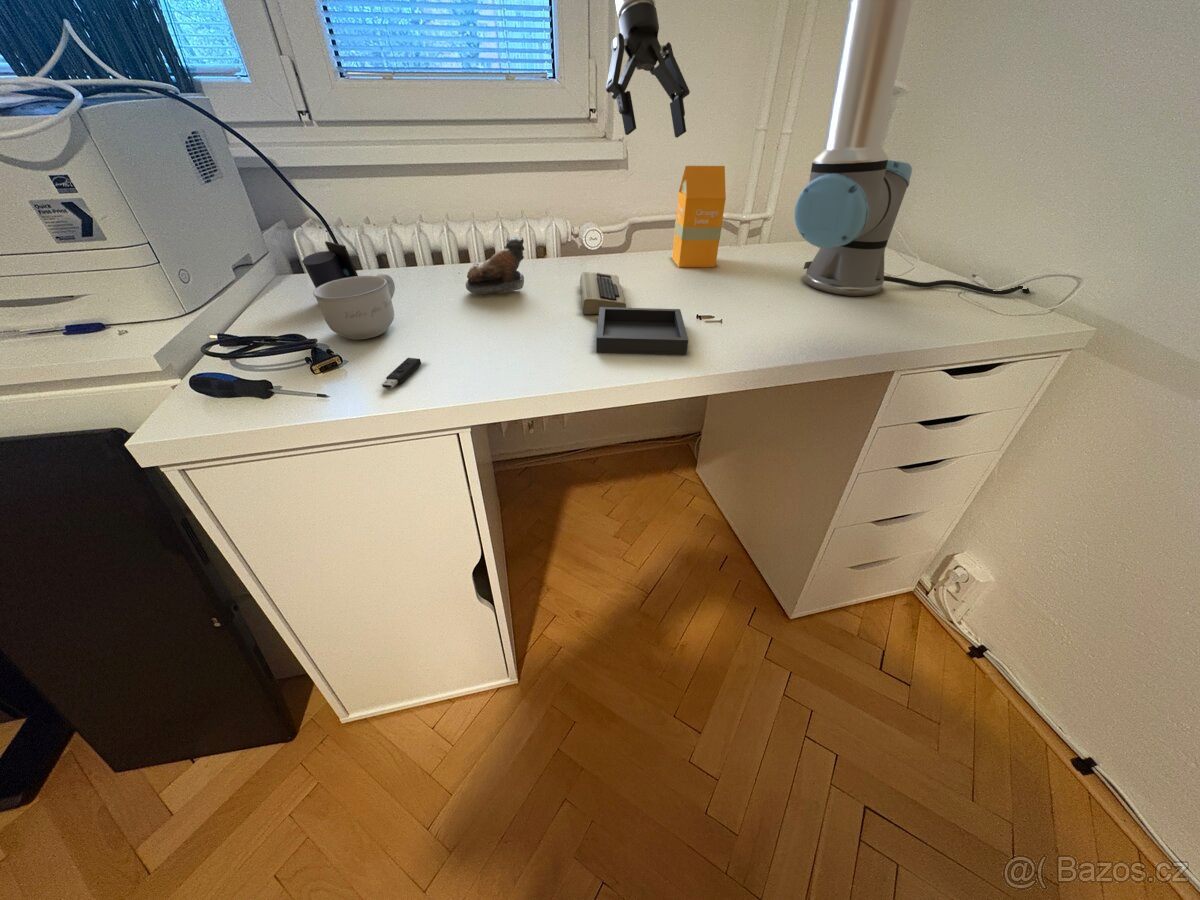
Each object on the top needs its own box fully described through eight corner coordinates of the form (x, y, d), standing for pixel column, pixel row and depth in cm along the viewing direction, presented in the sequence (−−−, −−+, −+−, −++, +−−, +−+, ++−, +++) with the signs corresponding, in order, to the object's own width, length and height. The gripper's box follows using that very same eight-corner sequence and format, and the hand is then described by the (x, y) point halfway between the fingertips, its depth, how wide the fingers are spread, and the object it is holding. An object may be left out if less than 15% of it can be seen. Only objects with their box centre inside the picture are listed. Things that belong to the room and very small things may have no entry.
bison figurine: (467, 300, 93) (458, 244, 86) (466, 288, 98) (458, 235, 92) (529, 295, 95) (525, 241, 89) (525, 284, 100) (521, 232, 94)
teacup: (356, 352, 74) (340, 301, 69) (314, 336, 78) (296, 286, 73) (427, 323, 83) (417, 276, 78) (385, 310, 88) (374, 265, 83)
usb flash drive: (394, 390, 64) (392, 383, 64) (381, 388, 65) (379, 382, 64) (421, 363, 71) (420, 357, 70) (409, 362, 71) (407, 356, 70)
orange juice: (671, 258, 117) (680, 163, 105) (706, 257, 118) (720, 163, 106) (678, 267, 111) (689, 168, 99) (715, 267, 112) (731, 168, 100)
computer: (626, 314, 87) (627, 296, 85) (582, 315, 87) (582, 297, 85) (618, 286, 100) (619, 270, 98) (579, 286, 100) (579, 270, 98)
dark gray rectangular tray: (678, 322, 85) (680, 308, 83) (686, 355, 74) (688, 340, 73) (599, 320, 85) (599, 306, 84) (596, 352, 75) (596, 337, 73)
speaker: (359, 291, 95) (338, 236, 88) (369, 300, 92) (347, 245, 84) (319, 302, 92) (294, 247, 85) (327, 313, 88) (302, 256, 81)
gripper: (670, 35, 103) (687, 143, 108) (573, 16, 90) (597, 139, 95) (695, 11, 97) (712, 127, 102) (595, -14, 84) (619, 120, 89)
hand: (656, 133), depth 98 cm, fingers open, 13 cm apart
